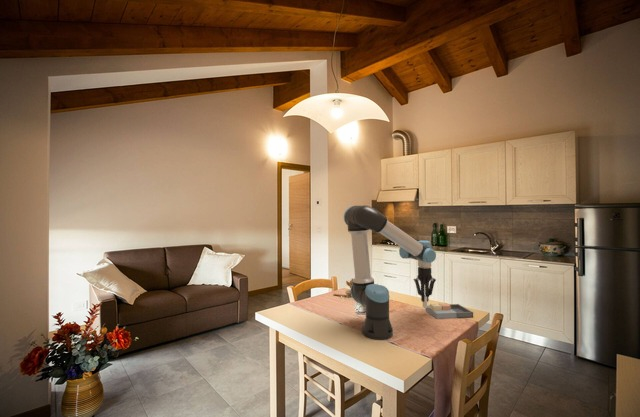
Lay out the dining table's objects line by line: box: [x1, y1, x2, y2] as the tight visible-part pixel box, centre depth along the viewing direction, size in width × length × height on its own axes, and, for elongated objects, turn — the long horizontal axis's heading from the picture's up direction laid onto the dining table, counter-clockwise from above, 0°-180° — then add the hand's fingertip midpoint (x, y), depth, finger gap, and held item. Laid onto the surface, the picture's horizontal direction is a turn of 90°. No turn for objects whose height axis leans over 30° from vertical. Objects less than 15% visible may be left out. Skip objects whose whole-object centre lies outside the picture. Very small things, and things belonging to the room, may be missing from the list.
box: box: [449, 303, 474, 319], centre depth 179 cm, size 15×10×3 cm, turn 6°
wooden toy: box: [333, 278, 355, 301], centre depth 214 cm, size 22×10×14 cm, turn 61°
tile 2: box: [438, 302, 451, 310], centre depth 179 cm, size 5×5×2 cm
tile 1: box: [429, 303, 442, 311], centre depth 178 cm, size 5×5×2 cm
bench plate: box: [425, 305, 458, 320], centre depth 178 cm, size 14×12×3 cm
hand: (424, 307), depth 177 cm, fingers closed
